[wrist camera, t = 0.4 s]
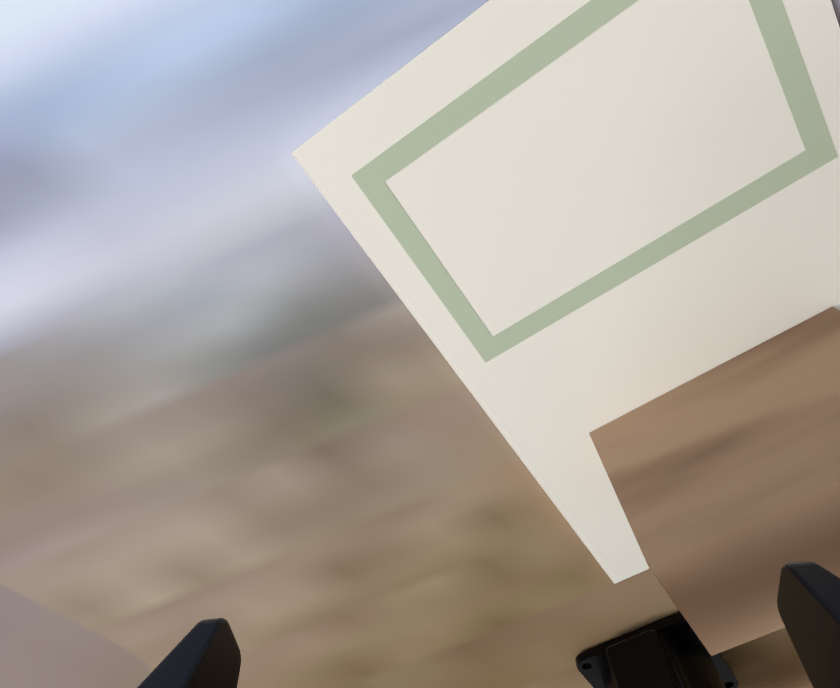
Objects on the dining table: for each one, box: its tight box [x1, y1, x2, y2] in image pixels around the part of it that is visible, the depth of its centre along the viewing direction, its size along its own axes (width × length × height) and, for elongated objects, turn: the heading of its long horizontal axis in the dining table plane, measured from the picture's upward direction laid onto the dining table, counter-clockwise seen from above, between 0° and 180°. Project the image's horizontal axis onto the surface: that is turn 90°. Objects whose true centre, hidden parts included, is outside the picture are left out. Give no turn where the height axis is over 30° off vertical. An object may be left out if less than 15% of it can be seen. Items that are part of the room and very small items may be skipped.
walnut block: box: [589, 307, 840, 656], centre depth 20 cm, size 5×10×7 cm, turn 124°
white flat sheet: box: [291, 0, 840, 584], centre depth 21 cm, size 24×16×1 cm, turn 35°
